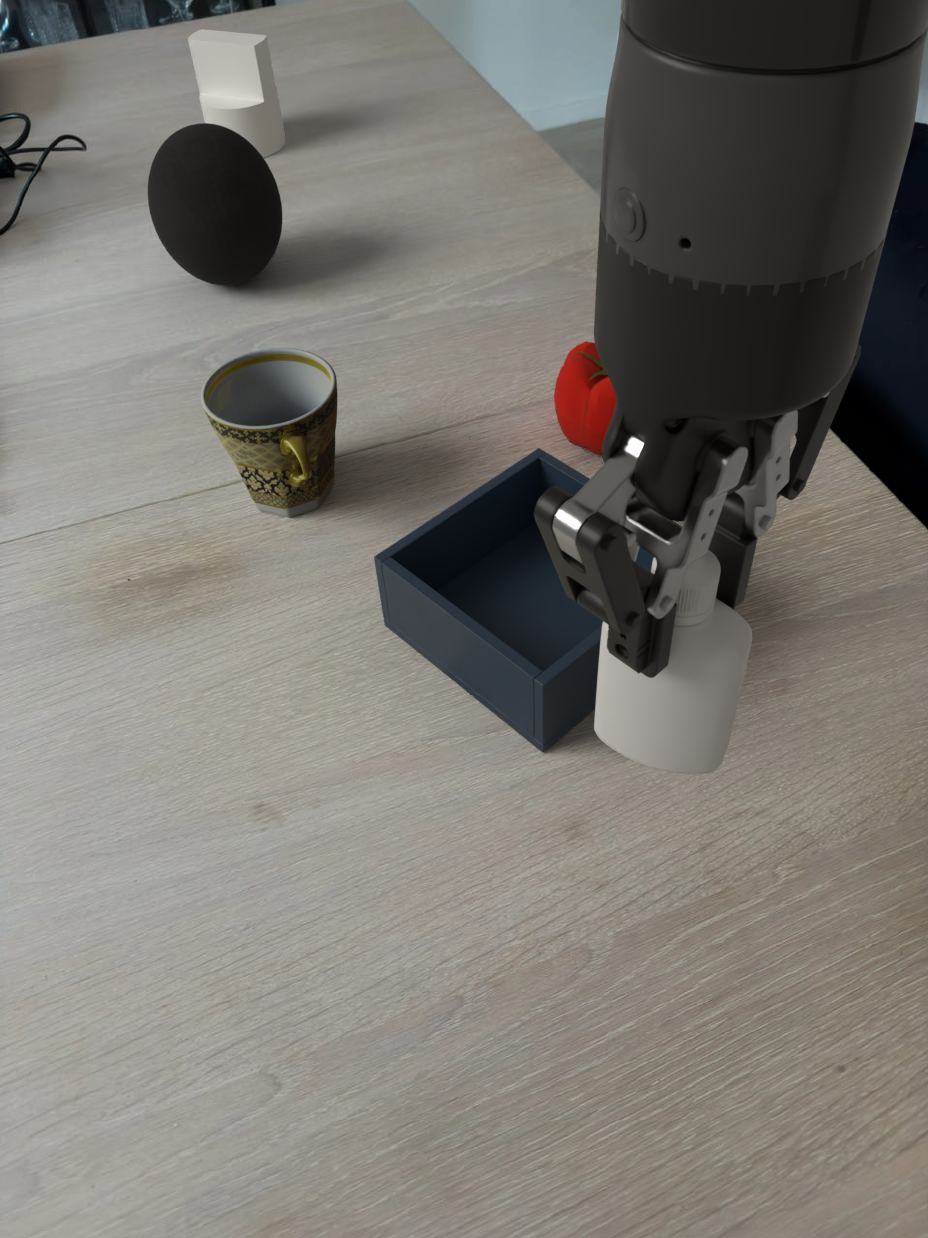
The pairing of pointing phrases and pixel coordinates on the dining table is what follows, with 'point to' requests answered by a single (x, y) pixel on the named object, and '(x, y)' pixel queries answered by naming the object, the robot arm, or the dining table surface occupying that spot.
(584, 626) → the bin
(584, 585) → the robot arm
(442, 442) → the dining table surface
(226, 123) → the base with upright slab
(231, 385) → the ceramic cup
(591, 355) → the tomato
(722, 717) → the eye dropper bottle
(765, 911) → the dining table surface
